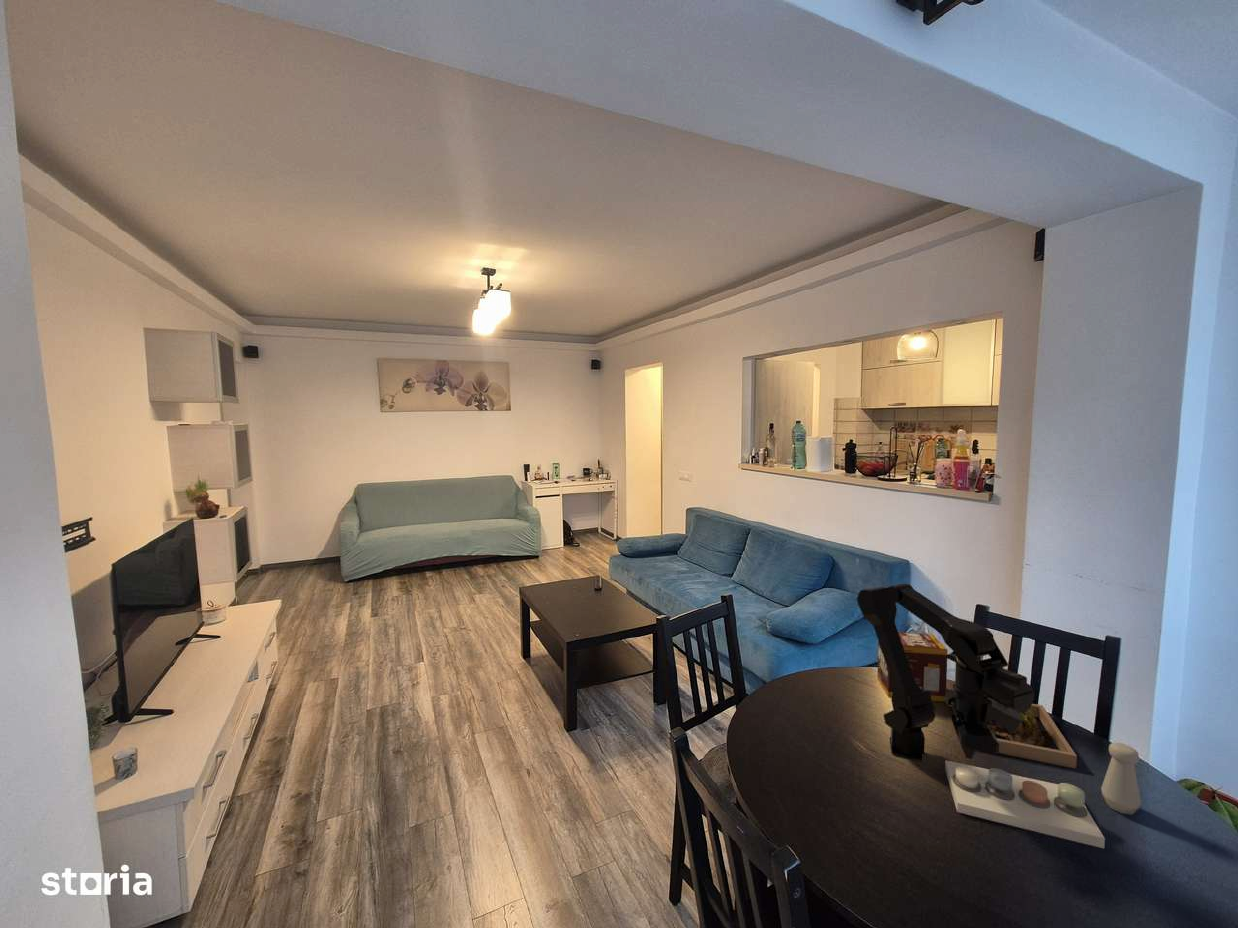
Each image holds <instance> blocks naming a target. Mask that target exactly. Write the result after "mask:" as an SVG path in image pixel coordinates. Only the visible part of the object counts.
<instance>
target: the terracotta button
mask: <svg viewBox="0 0 1238 928" xmlns="http://www.w3.org/2000/svg"><path fill="white" fill-rule="evenodd" d="M1047 794H1048V791H1047V790H1046V788H1044V787H1043V786H1042V785H1040V784H1038V783H1035V782H1032V781H1024V782H1023V783H1022V795H1023V796H1024V797H1025V798H1026V799H1028V800H1029V801H1031V802H1033V803H1036V804H1046V803H1047Z"/></svg>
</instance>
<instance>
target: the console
mask: <svg viewBox="0 0 1238 928" xmlns="http://www.w3.org/2000/svg"><path fill="white" fill-rule="evenodd" d="M960 766H963V767H967V768H970V769H972V770H974V771H975V772H976V773H977V774H978V776H979V777H978V787H977V788H967V787H965V786H962V785H961V784H959V783H958V782H957V781H956V779H955V777H956V768H957V767H960ZM989 769H990V768H989ZM989 769H987V768H984V767H978V766H974V765H969V764H966V763H959V762H955V761H953V760H952V761H950V760H946V759H945V761H944V770H945V774H946V776H947V780H948V785H949V787H950V792H951V794H952V798H953V802H954V805H955V809H956V813H959V814H965V815H968V816H971V817H977V818H980V819H983V820H988V821H991V822H996V823H1000V824H1005V825H1008V826H1012V827H1016V828H1020V829H1024V830H1028V831H1033V832H1037V833H1040V834H1044V835H1047V836H1048V835H1049V836H1052V837H1056V838H1060V839H1064V840H1068V841H1073V842H1075V843H1080V844H1084V845H1087V846H1088V845H1089V846H1092V847H1096V848H1100V849H1105V843H1106V839H1105V836H1104V835H1103V833H1102V832H1101V830H1100V828H1099V827H1098V825H1097V823H1096V822H1095V820H1094V819H1093V817H1092V815H1091V814H1090V812H1089V810H1088V809H1087V806H1086V805H1085V804H1084V806H1083V807H1075V806H1071V805H1069V804H1067V803H1065V802H1063V801H1062V800H1060V799H1059V797H1058V784H1059V783H1058V784H1057V783H1052V782H1048V781H1042V780H1039V779H1035V778H1029V777H1024V776H1020V775H1016V774H1011V773H1009V774H1010V775H1011V776H1012V778H1013V780H1012V789H1011V790H1009V791H1005V790H1000V789H998V788H996V787H994V786H992V785H991V784H990V783H989V781H988V773H989ZM1024 781H1032V782H1035V783H1038V784H1040V785H1042V786H1043V787H1044V788H1046V790H1047V791H1048V794H1047V803H1046V804H1036V803H1033V802H1031V801H1029V800H1028V799H1026V798H1025V797H1024V796H1023V795H1022V783H1023V782H1024Z"/></svg>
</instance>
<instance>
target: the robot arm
mask: <svg viewBox="0 0 1238 928" xmlns="http://www.w3.org/2000/svg"><path fill="white" fill-rule="evenodd" d="M856 601H857V605H858V608H859V609H860V610H861V614H862V615H863V617H864V618H865V619H866V620H867V621H868V622H869V623H870V624H871V625H872V626H873V628H874V632H875V634H876V637H877V641H879V644H880V647H881V650H882V653H883V656H884V659H885V662H886V665H887V668H888V671H889V674H890V677H891V680H892V683H893V686H894V689H893V694H892V697H891V699H890V701H891V704H892V705H891V706H892V709H893V710H889V712H887V713H884V714H883V719H884V724H885V725H887V726H888V727H889V728H890V737H889V744H890V752H891V754H892V755H895V756H899V757H904V758H908V759H913V760H918V761H923V760H924V757H923V755H924V754H925V745H926V743H925V741H926V737H925V734H924V732H923V728H928V727H929V725H930V724H932V723H933V722H934V720H935V718H936V711H935V710H937V708H936V706H935V705H934V702H933V701H932V699H931V695H930V693H929V692H928V691H925V692H924V691H923V690H922V689H921V688H920V687H919V686H918V685H917V684H916V682H915V679H914V676H913V674H912V671H911V668H910V665H909V662H908V659H907V656H906V654H905V651H904V648H903V645H902V642H901V639H900V636H899V633H898V632H899V631H898V629H897V625H896V622H895V621H896V617H897V613H898V612H897V611H898V608H897V604H898V605H900V606H902V608H904V609H905V610H907V611H908V612H910V613H911V614H913V615H914V616H915V617H917V618H918V619H919V620H921V621H922V622H924V623H925V624H927V625H928V626H929V627H930V628H932V629H933V630H935V632H937V633H939V634H940V636H941V637H942V639H943V642H944V644H945V645H947V647H949V648H950V650H952V651H951V652H950V653H947V655H946V658H947V660H949V661H952V662H954V663H955V669H954V670H955V672H954V677H955V678H954V683H952V689H949V690H948V691H946V696H945V701H944V702H945V704H946V706H947V707H948V708H949V707H950V708H952V707H953V709H952V711H953V710H954V712H953V714H950V719H951V722H952V725H953V728H954V730H955V733H956V735H957V738H958V741H959V743H960V746H961V749H962V752H963V753H964V756H965V759H971V760H972V759H973V758H974V755H976V754H975V753H976V751H977V752H978V751H979V752H983V753H988V754H992V755H993V754H994V755H998V754H1000V753H999V742H998V740H997V738H998V737H997V736H996V734H995V733H993V732H992V731H991V730H990V729H988V728H987V726H986V725H991V726H992V722H994V723H995V724H997V725H999V726H1001V727H1004V728H1006V729H1008V730H1009V731H1010V732H1012V733H1016V732H1017V730H1018V728H1019V727H1020V725H1021V723H1022V721H1023V719H1022V718H1021V716H1020V714H1019V713H1024V712H1026V711H1027V710H1028V709H1029V708H1030V707H1031V705H1032V704H1034V700H1035V691H1034V690H1033V688H1032V685H1030V684H1029V683H1028V677H1027V676H1025V675H1022V674H1020V673H1016V672H1014V671H1011V670H1009V669H1007V667H1008V666H1009V663H1008V662H1007V659H1006V658H1005V656H1004V655H1003V653H1002V651H1001V649H1000V648H999V646H998V644H997V642H996V640H995V639H994V634H993V633H992V632H991V631H990V630H989V629H988V628H985V627H984V626H982V625H980V624H977V623H976V622H974V621H971V620H966V619H963V618H960V617H957V616H955V615H953V614H952V613H950V612H949V611H947V610H946V609H944V608H942V607H941V606H939V604H936V602H933V601H932V600H931V599H929V598H928V597H926V596H925V595H923V594H922V593H921V592H919V591H917V590H916V589H914V588H913V586H912V585H911V584H909V583H897V584H892V585H890V586H887V587H885V586H879V587H878V586H877V587H873V588H872V587H871V588H866V589H862V590H860V591H859V592H858V595H857V596H856ZM984 656H988V657H990V658H986V659H978V658H981V657H984ZM1005 667H1006V668H1005ZM951 702H952V707H951ZM1018 712H1019V713H1018ZM954 713H955V715H954Z"/></svg>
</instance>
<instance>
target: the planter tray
mask: <svg viewBox="0 0 1238 928" xmlns="http://www.w3.org/2000/svg"><path fill="white" fill-rule="evenodd" d="M950 708H951V709H952V712H953V715H955V713H954V710H953V707H952V702H951V707H950ZM1029 710H1031V711H1032V713H1033V714H1034V715H1035V716H1036V717H1035V718H1038V719H1039V720H1040V723H1042V726H1043V727H1044V728H1045V729H1046V730H1047V731H1048V732H1049V734H1050V736H1051V737H1052V742H1054V744H1055V746H1056V747H1057V749H1054V748H1053V749H1052V748H1050V747H1045V748H1044V747H1039V746H1034V745H1035V744H1034V745H1029V744H1024V743H1019V742H1013V741H1011V740H1007V739H1003V738H998V737H996V738H997V740H998V742H999V753H998V754H1003V755H1007V756H1012V757H1016V758H1017V757H1018V758H1021V759H1027V760H1031V761H1032V760H1033V761H1037V762H1040V763H1046V764H1052V765H1057V766H1061V767H1067V768H1070V769H1075V768H1076V769H1077V762H1078V761H1077V759H1078V758H1077V757H1078V756H1077V754H1076V752H1075V751H1074V749H1073V748H1072V746H1070V744H1069V743H1068V740H1066V738H1065V736H1064V735H1063V734H1062V732H1061V731H1060V728H1058V726H1057V725H1056V723H1055V721H1054V720H1053V719H1052V717H1051V716H1050V714H1049V713H1048V712H1047V710H1046V708H1045V707H1044V706H1043V705H1042V704H1036V703H1032V705H1031V707H1030V708H1029Z"/></svg>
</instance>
